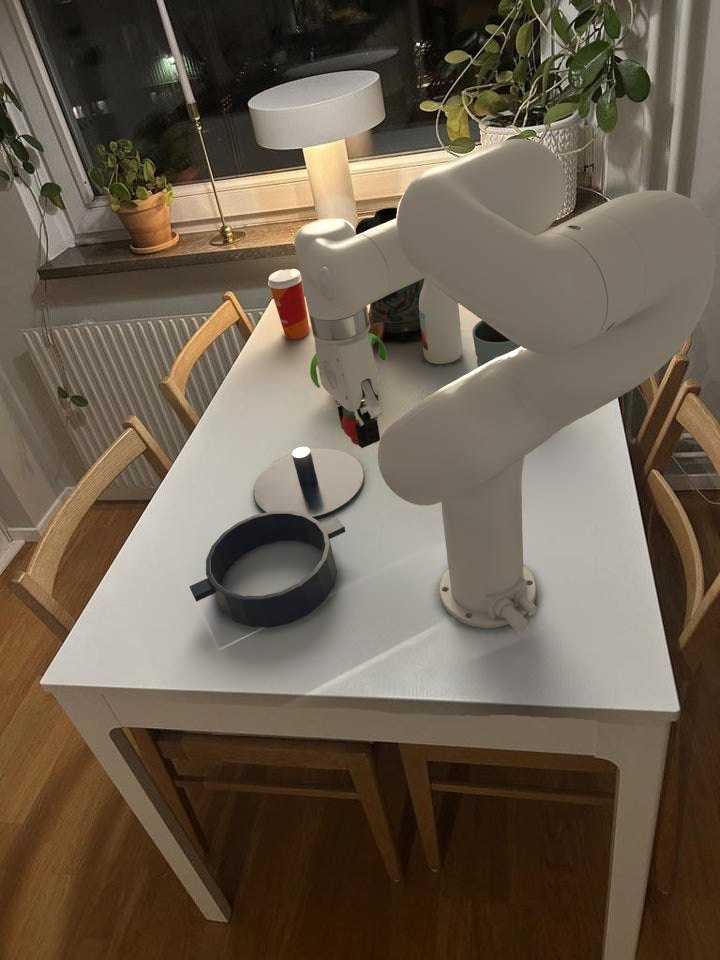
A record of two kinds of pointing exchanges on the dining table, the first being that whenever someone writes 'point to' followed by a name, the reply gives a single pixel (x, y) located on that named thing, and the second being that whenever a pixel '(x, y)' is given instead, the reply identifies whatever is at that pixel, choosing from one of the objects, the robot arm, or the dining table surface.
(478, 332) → the grey-green cup
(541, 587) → the dining table surface
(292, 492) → the lid
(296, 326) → the paper cup
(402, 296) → the beer stein
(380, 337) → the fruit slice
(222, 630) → the dining table surface
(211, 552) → the pot
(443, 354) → the milk bottle
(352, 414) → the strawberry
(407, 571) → the dining table surface
